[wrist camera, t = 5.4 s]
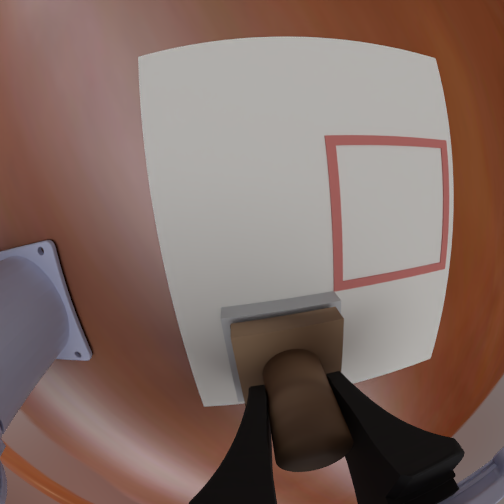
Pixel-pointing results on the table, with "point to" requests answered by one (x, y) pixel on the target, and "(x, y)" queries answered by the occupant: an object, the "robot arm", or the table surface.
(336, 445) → the stamp
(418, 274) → the stamping mat
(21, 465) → the table surface
